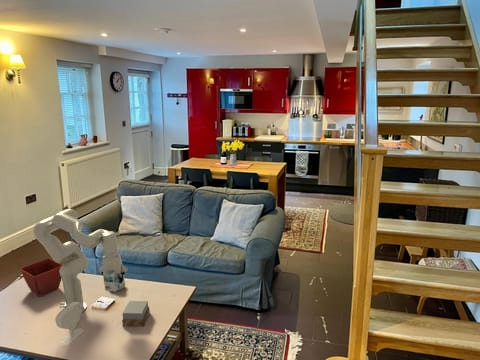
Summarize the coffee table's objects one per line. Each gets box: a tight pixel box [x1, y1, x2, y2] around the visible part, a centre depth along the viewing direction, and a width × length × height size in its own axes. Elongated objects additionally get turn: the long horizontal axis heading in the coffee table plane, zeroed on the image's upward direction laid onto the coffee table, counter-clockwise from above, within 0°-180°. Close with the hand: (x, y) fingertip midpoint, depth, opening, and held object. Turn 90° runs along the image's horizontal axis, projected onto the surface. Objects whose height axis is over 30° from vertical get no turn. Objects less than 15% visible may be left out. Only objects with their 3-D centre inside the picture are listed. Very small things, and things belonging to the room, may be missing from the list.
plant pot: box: [20, 257, 63, 297], centre depth 239 cm, size 19×19×17 cm
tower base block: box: [121, 306, 151, 328], centre depth 209 cm, size 12×13×4 cm
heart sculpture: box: [55, 302, 84, 346], centre depth 194 cm, size 16×5×18 cm, turn 163°
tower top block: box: [122, 300, 149, 320], centre depth 209 cm, size 11×12×4 cm
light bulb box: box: [102, 270, 126, 292], centre depth 204 cm, size 11×7×11 cm, turn 169°
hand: (114, 281), depth 204 cm, fingers closed on light bulb box, 7 cm apart
